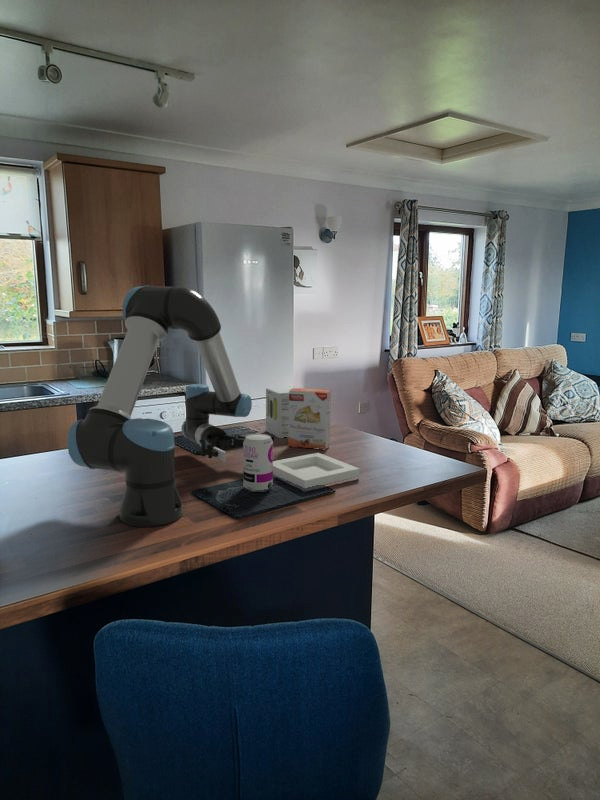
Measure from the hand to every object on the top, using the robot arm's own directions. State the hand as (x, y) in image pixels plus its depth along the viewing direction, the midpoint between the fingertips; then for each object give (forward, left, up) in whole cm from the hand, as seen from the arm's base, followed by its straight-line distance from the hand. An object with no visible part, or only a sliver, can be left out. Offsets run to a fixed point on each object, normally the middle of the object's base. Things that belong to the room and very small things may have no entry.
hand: (245, 453), depth 165 cm
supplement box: (+43, +40, -9) cm, 59 cm away
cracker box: (+38, +19, -9) cm, 43 cm away
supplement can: (0, -8, -9) cm, 11 cm away
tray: (+19, -8, -8) cm, 22 cm away
